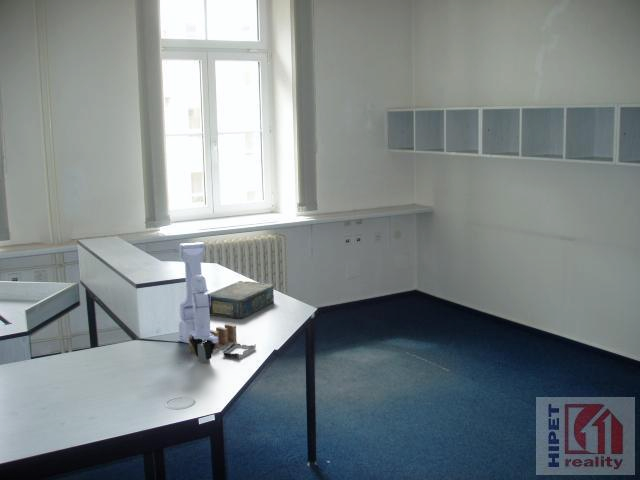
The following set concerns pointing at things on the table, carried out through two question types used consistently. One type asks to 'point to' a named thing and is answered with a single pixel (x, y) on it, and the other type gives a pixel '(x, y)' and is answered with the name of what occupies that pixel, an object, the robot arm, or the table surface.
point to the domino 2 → (202, 354)
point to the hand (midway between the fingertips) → (203, 357)
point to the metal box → (241, 299)
